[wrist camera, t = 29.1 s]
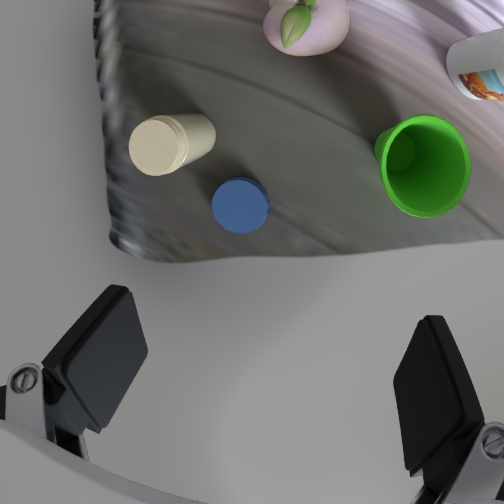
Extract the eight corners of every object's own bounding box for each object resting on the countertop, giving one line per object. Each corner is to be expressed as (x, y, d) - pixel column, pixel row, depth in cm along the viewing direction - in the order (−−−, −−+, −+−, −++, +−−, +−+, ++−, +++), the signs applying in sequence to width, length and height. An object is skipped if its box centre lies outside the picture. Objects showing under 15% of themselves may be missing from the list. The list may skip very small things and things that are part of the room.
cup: (427, 186, 31) (468, 217, 22) (359, 187, 33) (380, 219, 24) (426, 114, 27) (471, 119, 18) (354, 112, 29) (376, 112, 20)
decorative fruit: (337, 72, 28) (349, 57, 19) (265, 58, 28) (249, 38, 20) (348, 5, 23) (362, -29, 14) (278, -9, 24) (267, -46, 15)
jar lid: (208, 215, 38) (204, 220, 37) (227, 167, 35) (222, 170, 33) (256, 236, 39) (253, 242, 37) (278, 189, 35) (276, 194, 34)
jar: (163, 138, 35) (116, 152, 25) (190, 103, 32) (148, 103, 23) (195, 167, 36) (157, 190, 26) (225, 133, 33) (194, 143, 24)
